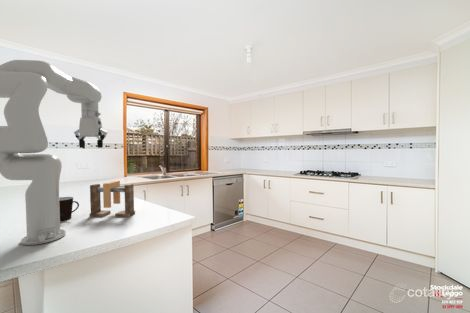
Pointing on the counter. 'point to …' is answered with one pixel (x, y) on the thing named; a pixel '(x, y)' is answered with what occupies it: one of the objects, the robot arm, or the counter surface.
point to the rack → (98, 212)
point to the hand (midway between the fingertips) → (91, 147)
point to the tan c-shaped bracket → (107, 193)
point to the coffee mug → (66, 207)
